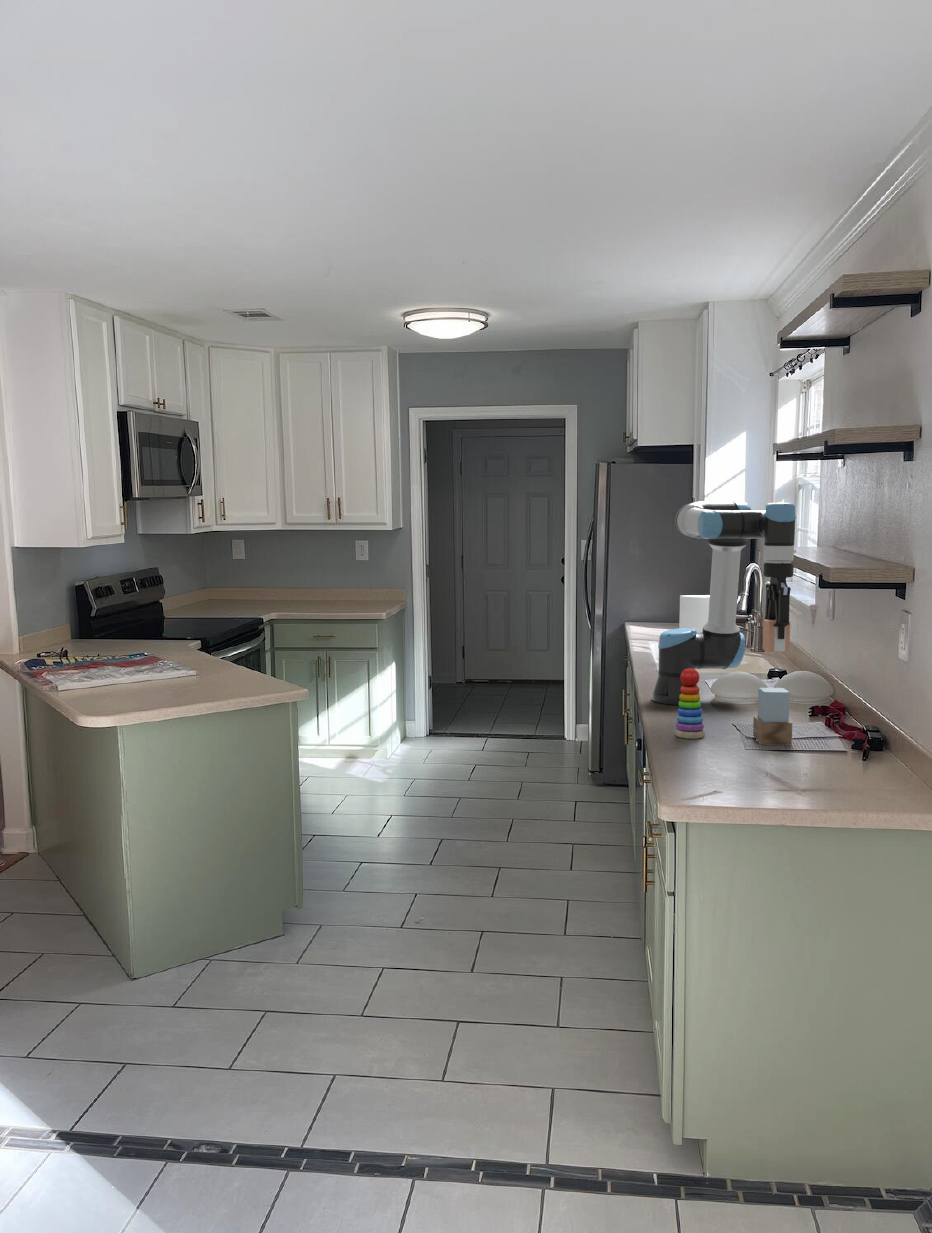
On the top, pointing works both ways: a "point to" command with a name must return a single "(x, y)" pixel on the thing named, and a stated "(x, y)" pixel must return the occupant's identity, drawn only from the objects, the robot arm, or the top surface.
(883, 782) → the top surface
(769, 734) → the walnut block
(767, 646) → the terracotta block
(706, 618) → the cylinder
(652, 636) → the top surface
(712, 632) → the robot arm
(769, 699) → the blue grey block
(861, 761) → the top surface
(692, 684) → the stacking toy
